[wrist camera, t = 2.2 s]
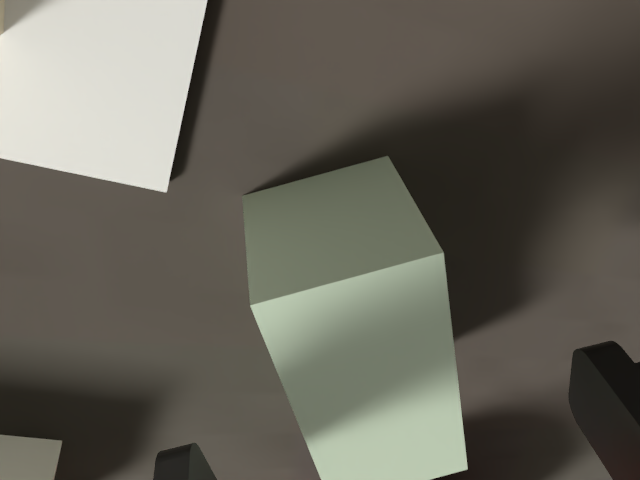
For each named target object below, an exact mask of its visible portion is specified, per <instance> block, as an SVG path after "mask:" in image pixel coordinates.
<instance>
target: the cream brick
mask: <svg viewBox="0 0 640 480" xmlns="http://www.w3.org/2000/svg"><path fill="white" fill-rule="evenodd" d="M61 446H62V441H61V440H51V439H40V438H30V437H19V436H9V435H0V480H54V478H55V473H56V469H57V464H58V460H59V455H60V450H61Z"/></svg>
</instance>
